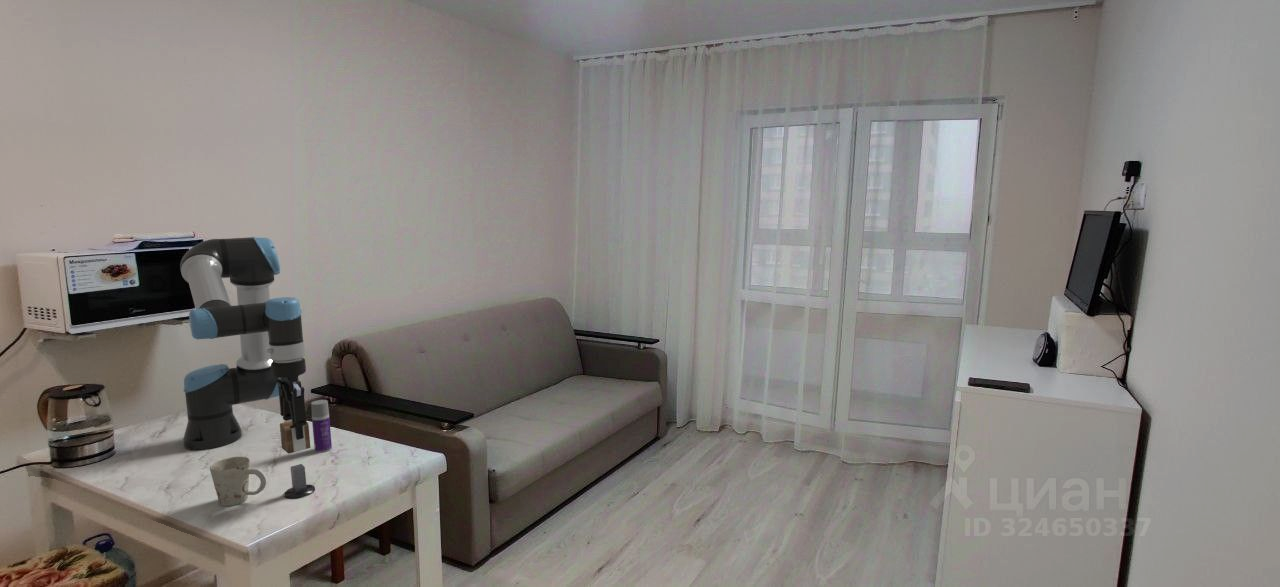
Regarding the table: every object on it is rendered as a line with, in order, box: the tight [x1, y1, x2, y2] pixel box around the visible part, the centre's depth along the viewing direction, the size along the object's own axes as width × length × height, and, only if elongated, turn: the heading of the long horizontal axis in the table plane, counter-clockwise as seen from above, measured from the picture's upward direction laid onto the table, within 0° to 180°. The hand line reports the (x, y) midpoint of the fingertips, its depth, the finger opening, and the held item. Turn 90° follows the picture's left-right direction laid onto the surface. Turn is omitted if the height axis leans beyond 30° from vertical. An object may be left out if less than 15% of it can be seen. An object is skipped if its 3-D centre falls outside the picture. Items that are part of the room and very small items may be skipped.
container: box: [310, 399, 333, 453], centre depth 187 cm, size 5×5×15 cm
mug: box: [209, 456, 267, 507], centre depth 156 cm, size 8×13×10 cm, turn 95°
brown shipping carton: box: [279, 421, 311, 454], centre depth 158 cm, size 5×5×7 cm
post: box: [284, 463, 316, 499], centre depth 160 cm, size 7×7×7 cm
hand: (296, 447), depth 159 cm, fingers closed on brown shipping carton, 5 cm apart
